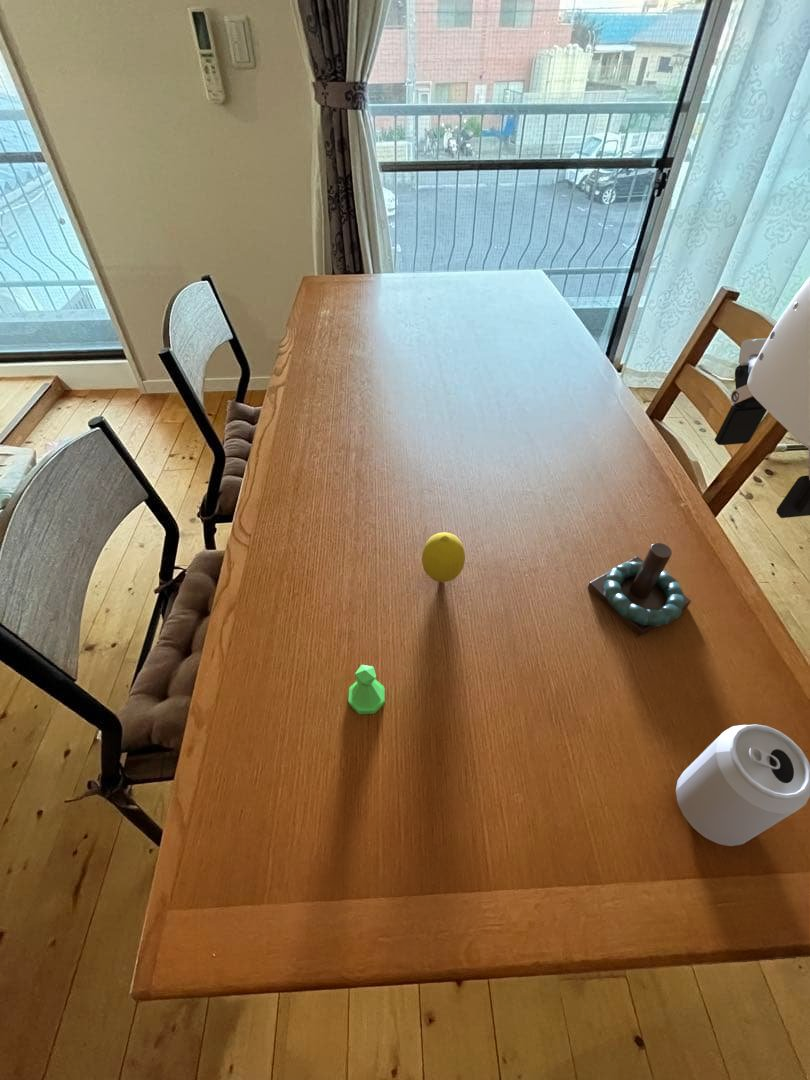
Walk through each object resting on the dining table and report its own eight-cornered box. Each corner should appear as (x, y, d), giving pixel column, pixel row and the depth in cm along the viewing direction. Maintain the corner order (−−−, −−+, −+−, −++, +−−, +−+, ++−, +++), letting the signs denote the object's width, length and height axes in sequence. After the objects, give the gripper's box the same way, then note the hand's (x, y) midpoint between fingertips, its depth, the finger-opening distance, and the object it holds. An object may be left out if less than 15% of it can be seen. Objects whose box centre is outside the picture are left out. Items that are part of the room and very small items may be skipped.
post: (687, 606, 71) (718, 559, 65) (639, 637, 68) (666, 591, 61) (634, 561, 77) (657, 513, 70) (587, 588, 73) (606, 540, 67)
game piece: (357, 675, 64) (354, 647, 60) (391, 687, 63) (391, 660, 59) (341, 707, 61) (337, 680, 57) (376, 721, 60) (375, 694, 56)
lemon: (433, 556, 77) (436, 515, 71) (469, 572, 75) (475, 531, 69) (413, 582, 74) (414, 541, 68) (450, 600, 72) (454, 559, 66)
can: (756, 861, 51) (830, 820, 43) (672, 832, 53) (726, 787, 44) (750, 782, 56) (815, 731, 48) (672, 758, 58) (722, 705, 49)
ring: (697, 609, 70) (703, 599, 68) (642, 640, 66) (647, 631, 65) (640, 558, 75) (645, 549, 74) (587, 585, 72) (591, 575, 71)
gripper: (1060, 334, 31) (868, 543, 43) (848, 227, 42) (745, 416, 55) (939, 341, 30) (779, 552, 42) (757, 230, 42) (674, 422, 54)
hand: (760, 475), depth 49 cm, fingers open, 9 cm apart
